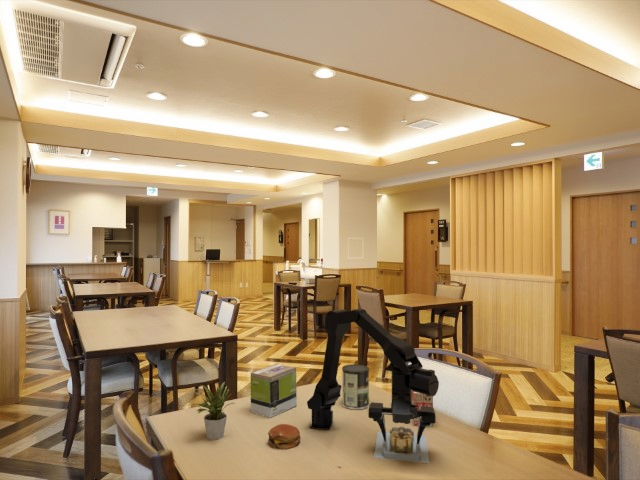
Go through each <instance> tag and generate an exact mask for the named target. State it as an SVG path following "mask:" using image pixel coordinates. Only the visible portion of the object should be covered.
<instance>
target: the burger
mask: <svg viewBox="0 0 640 480" xmlns="http://www.w3.org/2000/svg"><path fill="white" fill-rule="evenodd" d="M300 433H301V432H300V430H299V429H298V427H296V426H294V425H292V424H289V423H288V424H287V423H281V424H277V425H275V426H273V427H271V428H270V429H269V430H268V432H267V435H268V439H267V440H268V442H270V445H271V446H272V447H274V448H278V449H279V450H290V449H293V448H296V446H297V445H298V444H299V442H300V441H301V437H302V436H301V434H300Z"/></svg>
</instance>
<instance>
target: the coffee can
mask: <svg viewBox="0 0 640 480" xmlns="http://www.w3.org/2000/svg"><path fill="white" fill-rule="evenodd" d="M341 370H342V400H341V401H342V404H341V405H342V406H343V407H344V408H346V409H349V410H365V409H367V408H369V405H370V402H369V401H370V398H369V397H370V395H369V394H370V393H369V392H370V391H369V389H370V386H369V385H370V383H369V382H370V379H369V378H370V367H369V366H366V365H364V364H346V365H344V366H342V367H341Z"/></svg>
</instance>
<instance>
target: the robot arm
mask: <svg viewBox="0 0 640 480" xmlns="http://www.w3.org/2000/svg"><path fill="white" fill-rule="evenodd" d="M351 323H355V324H356V325H357V326H358V327H359V328H360V329H361V330H362V331H364V333H365V334H367V335H368V336H369V337H370V338H371V339H372V340H373V341H374V342H375V343H377V345H379V346H380V347H381V349H382V351H383V355H384V356H385V357H386V359H387V360H388V361H389V362H390V363H389V364H388V365H386V366H385V368H384V369H385V371H387V372H391V403H390V407H384V403H383V402H373V401H372V402H370V403H369V406H368V413H367V414H368V418H369V419H372V421H373V422H376V424H378V426H379V428H380V431H381V432H382V435H383V438H384V441H385V442H386V432H387V431H386V430H387V428H386V420H385V415H388V416H392V422H393V423H394V424H404V425H409V424H410V423H411V420H413V419H414V418H416V419H417V417H419V424H418V426H417V434H416V435H417V444H419V442H420V439H421V436H422V435H423V433H424V431H425V428H426V427H427V426H430V425H431V423H433V425H434V424H436V421H437V420H436V411H435V408H434V406H433V407H427V406H421V410H417V405H413V404H412V390H413V391H414V392H417V393H421V394H425V395H429V396H433V397H435V396H436V395H437V393H438V391H439V386H440V385H439V384H440V383H439V378H438V376H437V375H436V371H435V370H434V369H427V368H423V366H424V365H423V364H422V362H421V361H420V359H419V358H418V356H417V354H416V349H415V348H414V346H413V345H412V344H411V343H409V342H407V341H406V340H404V339H402V338H400V337H397V336H395V335H393V334H391V332H389V330H387V329H386V328H385V327H383V325H381V324H380V323H379V322H378V321H377V320H376V319H374V318H373V317H372V316H371V315H369V313H368V311H367V310H365V309H364V308H357V309H354V308H353V309H352V310H349V311H348V310H346V309H343V308H342V309H335V310H330V311H328V312H327V313H326V314H325V317H324V329H325V332H326V334H327V338H326V345H325V353H324V359H323V365H322V370H321V371H322V372H321V377H320V378H319V380H318V382H317V383H316V385H315V388H314V392H313V394H312V396H311V398H310V399H308V401H306V405H307V408H308V410H311V424H310V426H309V427H310V429H314V430H315V429H318V430H329V431H330V429H331V427H332V426H333V424H334V411H333V410H332V407H333V406H335V405H336V402H337V401H338V400H339V398H340V397H341V389H342V385H341V384H339V382H338V380H337V376H338V370H339V362H340V357H341V351H342V344H343V338H344V337H345V335H346V333H347V332H348V330H349V328H350V325H351ZM407 364H408V365H407Z"/></svg>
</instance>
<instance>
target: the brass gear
mask: <svg viewBox="0 0 640 480" xmlns="http://www.w3.org/2000/svg"><path fill="white" fill-rule="evenodd" d="M390 451H391V452H395V453H405V454H411V453H413V435H411V433H409V432H406V433H405V432H403V431H400V430H399V432H396V431H393V432H392V434H391V433H390Z"/></svg>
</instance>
